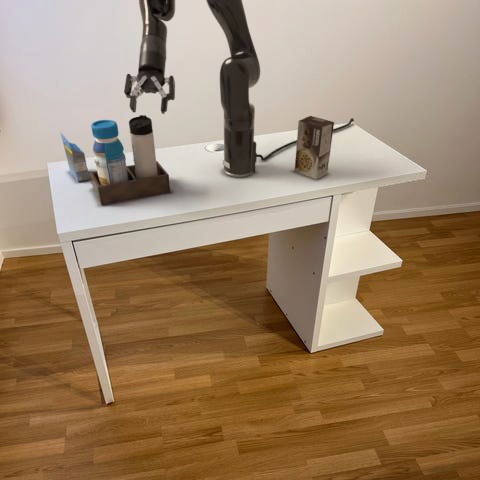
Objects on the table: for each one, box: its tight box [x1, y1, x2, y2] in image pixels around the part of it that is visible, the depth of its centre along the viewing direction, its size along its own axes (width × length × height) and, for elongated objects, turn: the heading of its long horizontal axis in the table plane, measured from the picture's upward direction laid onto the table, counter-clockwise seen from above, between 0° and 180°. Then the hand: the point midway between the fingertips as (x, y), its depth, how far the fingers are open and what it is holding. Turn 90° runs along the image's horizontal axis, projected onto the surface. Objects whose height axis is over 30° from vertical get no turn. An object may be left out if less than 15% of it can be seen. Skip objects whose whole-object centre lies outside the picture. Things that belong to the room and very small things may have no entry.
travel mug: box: [128, 114, 158, 179], centre depth 131 cm, size 6×7×20 cm
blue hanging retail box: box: [60, 133, 90, 183], centre depth 140 cm, size 9×4×12 cm, turn 32°
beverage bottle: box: [91, 119, 128, 186], centre depth 128 cm, size 8×8×20 cm
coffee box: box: [294, 115, 335, 180], centre depth 143 cm, size 9×6×16 cm
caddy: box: [89, 160, 171, 206], centre depth 134 cm, size 20×11×6 cm, turn 115°
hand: (148, 111), depth 132 cm, fingers open, 8 cm apart
